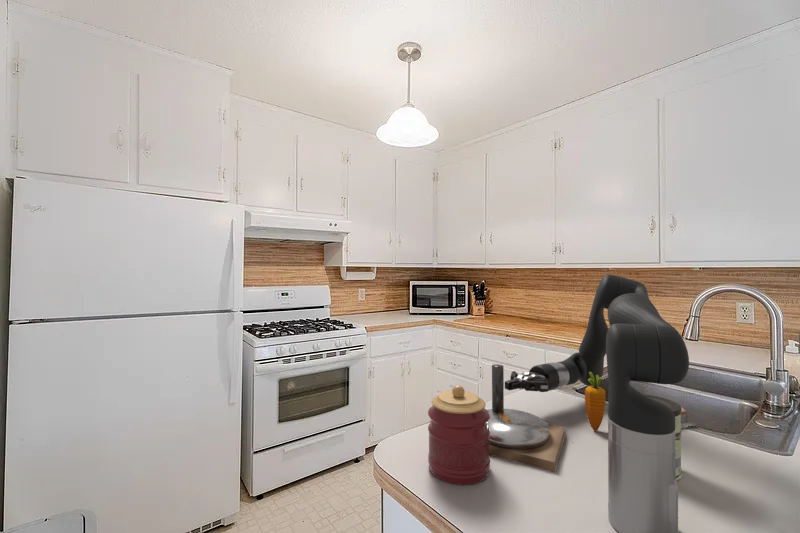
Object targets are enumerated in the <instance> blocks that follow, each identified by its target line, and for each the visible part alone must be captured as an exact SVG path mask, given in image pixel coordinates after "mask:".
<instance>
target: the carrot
mask: <svg viewBox="0 0 800 533" xmlns="http://www.w3.org/2000/svg"><path fill="white" fill-rule="evenodd" d="M589 375H590V377H591V378H590V379H588V381H589V382H590V383H591V385H592V386H586V388H585V389H584V405H585V406H584V407H585V412H586V417H587V419H588V422H589V425H590V427H591V429H592V430H593V431H594V432H597V431H599V430H598V429H600V427H601V424H602V422H603V418H604V415H605V414H604V413H605V411H606V390H605V389H604V388H602V387H600V386H599V385H600V384H601V382H602V380H603V377H602V378H601V377H600V378H599V376H598V375H596V380H597V381H596V380H595V378H594V375H593V373H592V372H589Z"/></svg>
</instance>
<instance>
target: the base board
mask: <svg viewBox="0 0 800 533" xmlns="http://www.w3.org/2000/svg"><path fill="white" fill-rule="evenodd" d="M547 424H548V426H549V440H548V441H547V442H546V443H545V444H544V445H542V446H539V447H535V448H529V449H514V448H506V447H501V446H497V445H494V444H491V443H489V456H492V457H495V458H496V457H497V458H500V459H504V460H508V461H510V462H511V461H512V462H515V463H520V464H523V465H527V466H530V467H535V468H538V469H543V470H546V471H550V472H555V471H556V468H557V464H558V460H559V458H560V454H561V451H562V448H563V443H564V440H565V436H566V427H564V426H560V425H554V424H550V423H547Z"/></svg>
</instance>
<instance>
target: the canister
mask: <svg viewBox="0 0 800 533" xmlns="http://www.w3.org/2000/svg"><path fill="white" fill-rule="evenodd" d="M431 403H432V405H431V406H430V407H429V409H428V410H427V415H428V417H429V419H430V420H429V421H430V422H429V424H428V426H427V431H428V454H427V457H428V458H427V459H428V460H427V462H428V465H429V466H428V467H429V469H430V470H429V471H430V473H432V474H433V476H435V477H436V478H437V479H439V480H440V481H443V482H446V483H449V484H453V485H459V486H462V485H463V486H465V485H473V484H477V483H480V482H482V481H483V480H485V479H486V478H487V477H488V476H489V473H490V472H489V471H490V467H491V458H490V455H489V435H490V430H489V428H488V426H487V421H488V420H489V418H490V414H489V412H488V411H487V410H488V409H486V406H487V403H486V401H485V400H484V399H483V398H482V397H479V395H477V394H476V393H474V392H471V391H469V390H468V391H467V390H465V388H464V387H463V386H462V385H459V384H456V385H454V386H453V387H452V389H449V390H444V391H441V392H440V393H439V394H437V395H434V397H433V398H432V399H431Z"/></svg>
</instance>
